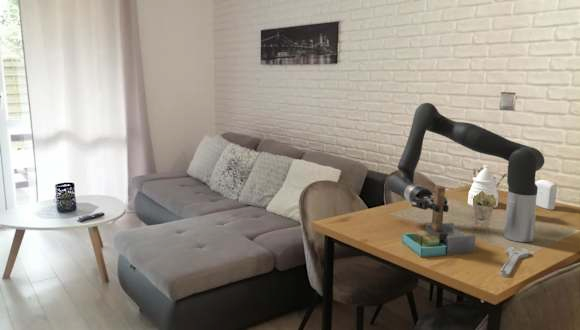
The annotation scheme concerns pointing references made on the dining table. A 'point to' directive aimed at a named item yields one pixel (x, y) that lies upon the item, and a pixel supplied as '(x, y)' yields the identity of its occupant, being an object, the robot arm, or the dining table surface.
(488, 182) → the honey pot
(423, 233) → the brass block
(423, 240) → the brass block
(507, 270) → the adjustable wrench
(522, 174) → the robot arm
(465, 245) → the rail channel
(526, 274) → the dining table surface
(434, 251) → the tray
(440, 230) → the wooden post on base
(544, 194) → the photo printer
